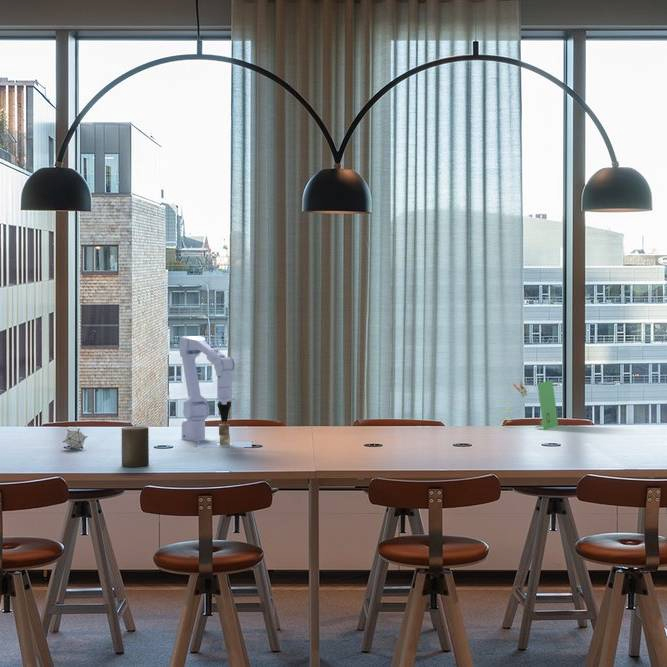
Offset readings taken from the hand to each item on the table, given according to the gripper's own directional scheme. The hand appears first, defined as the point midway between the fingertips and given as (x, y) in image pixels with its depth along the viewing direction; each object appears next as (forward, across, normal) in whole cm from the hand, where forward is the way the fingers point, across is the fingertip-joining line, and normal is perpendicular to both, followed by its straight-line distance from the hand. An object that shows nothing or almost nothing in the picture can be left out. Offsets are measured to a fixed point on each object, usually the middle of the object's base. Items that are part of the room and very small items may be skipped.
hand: (224, 420), depth 432 cm
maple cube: (+10, 0, 0) cm, 10 cm away
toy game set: (+11, +56, -140) cm, 151 cm away
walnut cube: (+6, 0, 0) cm, 6 cm away
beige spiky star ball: (+11, -4, +59) cm, 60 cm away
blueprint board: (+10, 0, 0) cm, 10 cm away
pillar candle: (+11, -46, +32) cm, 57 cm away
